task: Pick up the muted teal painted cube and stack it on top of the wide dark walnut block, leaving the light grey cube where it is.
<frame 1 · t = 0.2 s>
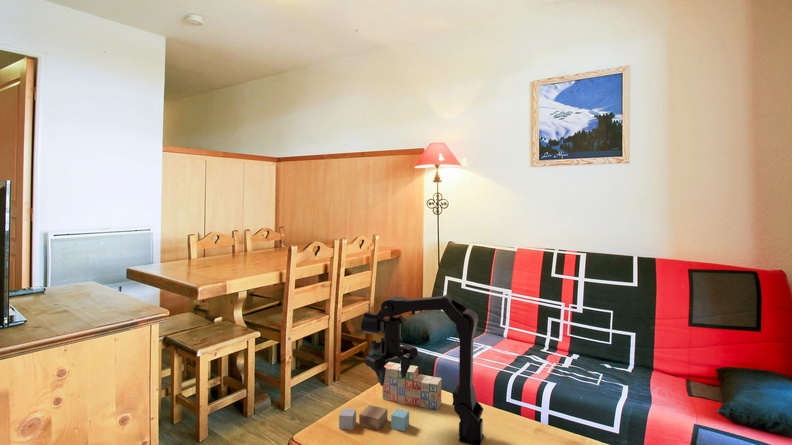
hand: (392, 381, 133), 13 cm above the table, fingers open, 9 cm apart
light grey cube: (347, 425, 131), on the table
teal cube: (400, 426, 130), on the table
stack of blocks: (411, 401, 148), on the table
walnut block: (373, 423, 132), on the table
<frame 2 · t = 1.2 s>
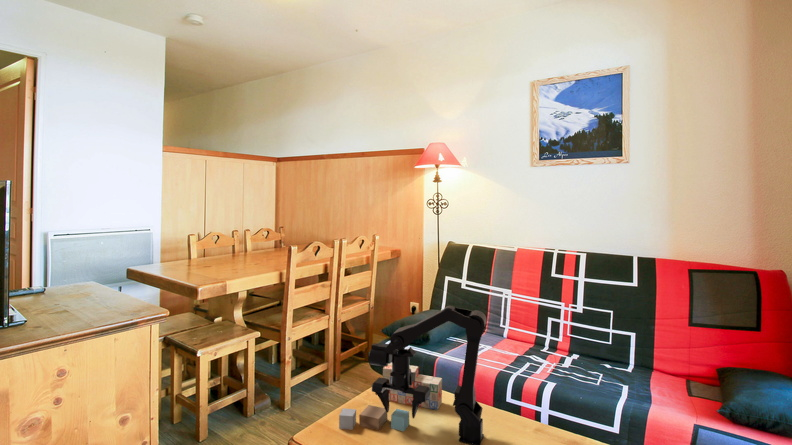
hand: (400, 414, 130), 4 cm above the table, fingers open, 9 cm apart
nothing on the table moved.
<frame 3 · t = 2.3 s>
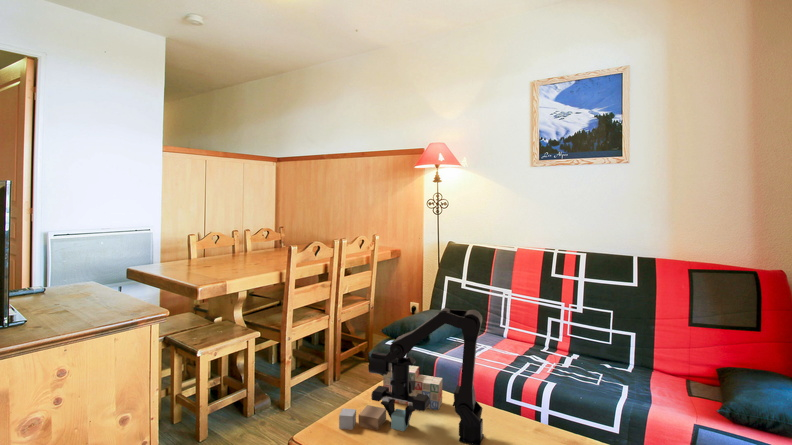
hand: (400, 423, 130), 1 cm above the table, fingers closed on teal cube, 4 cm apart
teal cube: (400, 426, 130), on the table, touching gripper
everything else where it was.
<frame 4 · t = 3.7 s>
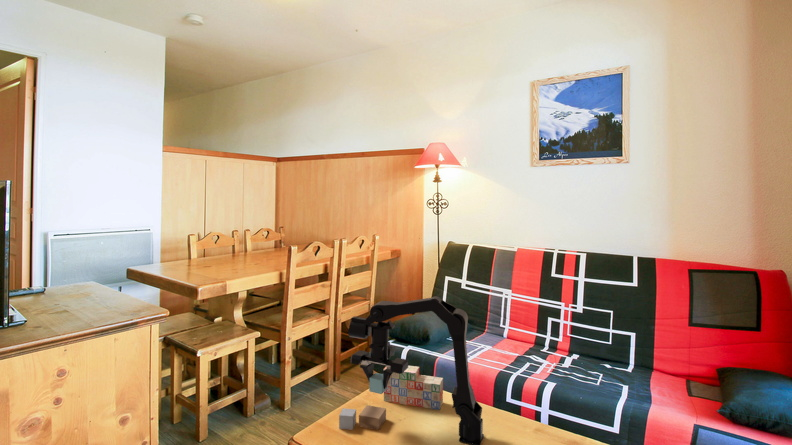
hand: (378, 386, 132), 12 cm above the table, fingers closed on teal cube, 4 cm apart
teal cube: (378, 389, 132), point 11 cm above the table, touching gripper
everything else where it was.
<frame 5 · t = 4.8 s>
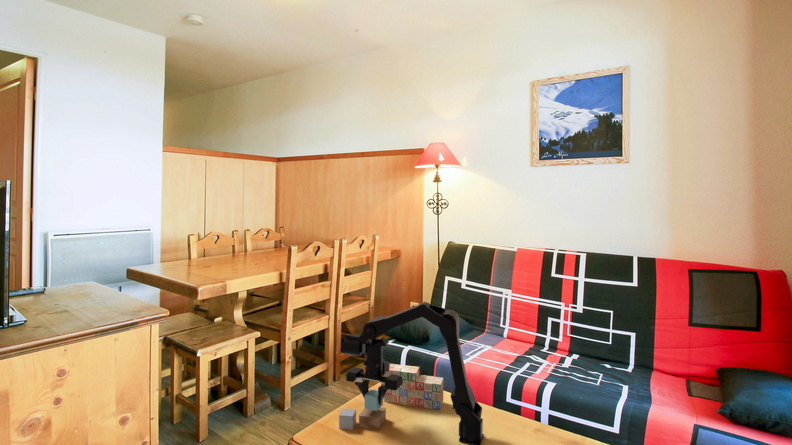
hand: (373, 403, 132), 6 cm above the table, fingers closed on teal cube, 4 cm apart
teal cube: (373, 406, 132), point 5 cm above the table, touching gripper
when the fingers open (6 cm above the table, at t = 5.1 s): teal cube drops 2 cm, resting on walnut block.
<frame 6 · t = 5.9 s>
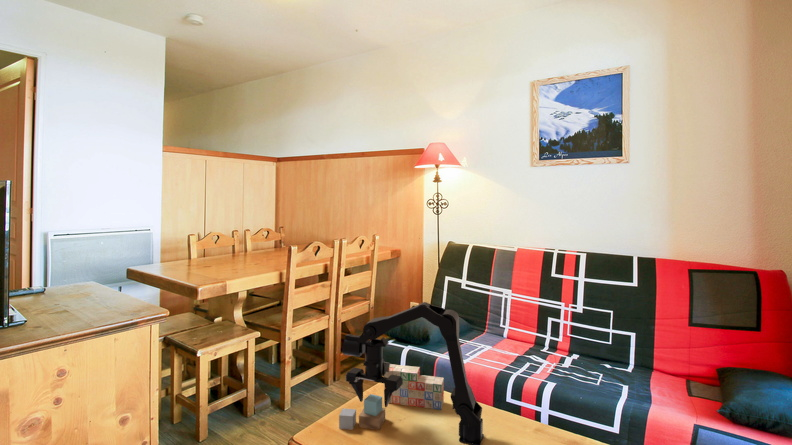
hand: (373, 403, 132), 6 cm above the table, fingers open, 9 cm apart
teal cube: (373, 411, 132), point 4 cm above the table, touching walnut block
walnut block: (372, 423, 132), on the table, touching teal cube
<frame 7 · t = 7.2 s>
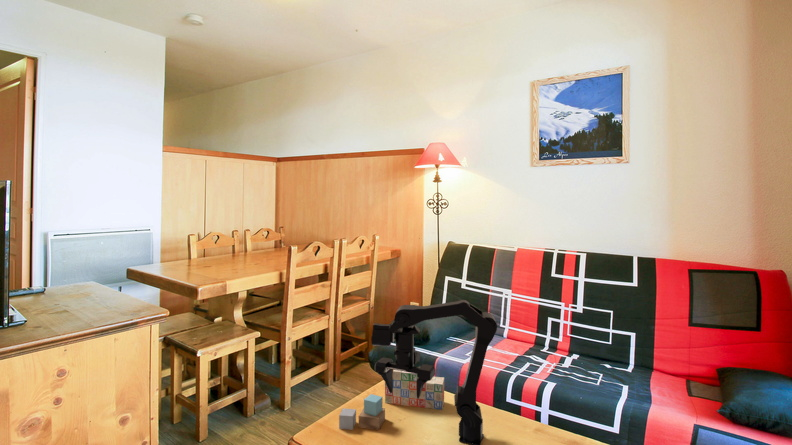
hand: (404, 395, 125), 12 cm above the table, fingers open, 9 cm apart
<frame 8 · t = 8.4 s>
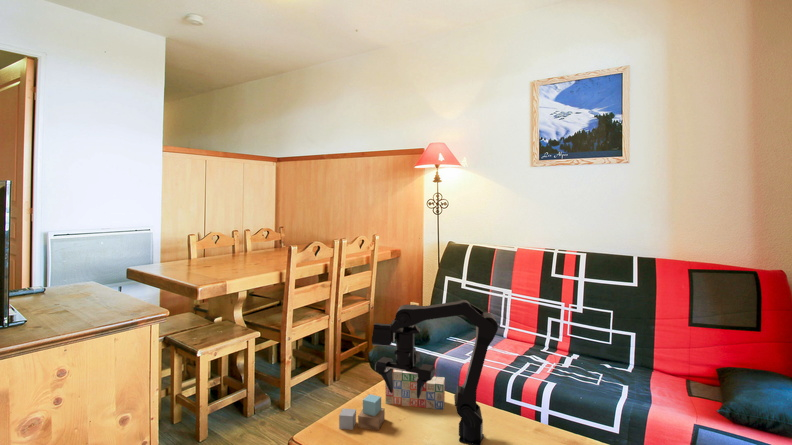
hand: (404, 395, 125), 13 cm above the table, fingers open, 9 cm apart
at the end: teal cube 0.3 cm off-centre on the walnut block, point 4.0 cm above the walnut block's base; teal cube tilted 0°; the gripper is holding nothing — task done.
